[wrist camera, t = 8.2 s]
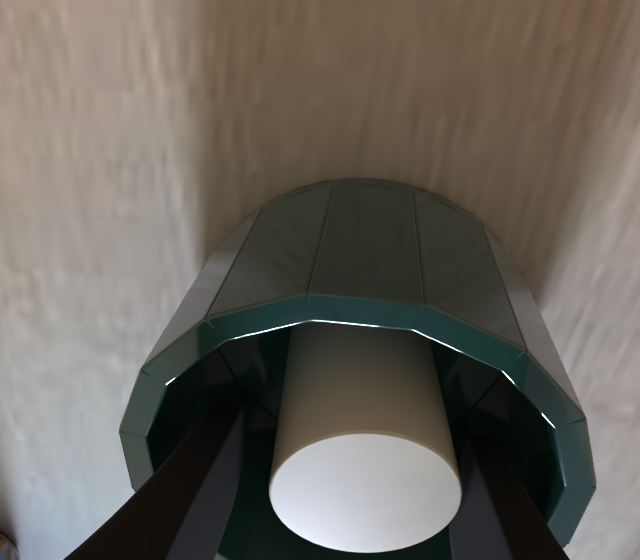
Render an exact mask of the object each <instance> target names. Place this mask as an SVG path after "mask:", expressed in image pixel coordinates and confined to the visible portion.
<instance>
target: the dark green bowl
mask: <svg viewBox="0 0 640 560" xmlns="http://www.w3.org/2000/svg"><path fill="white" fill-rule="evenodd" d="M309 321H320V322H330V323H340V324H350V325H360V326H370V327H380V328H390V329H400V330H410V331H414V332H417V333H419V334H421V335H423V336H425V337H428V338H429V340H430V344H431V349H432V353H433V358H434V362H435V366H436V371H437V375H438V380H439V384H440V389H441V393H442V397H443V402H444V406H445V411H446V415H447V420H448V424H449V428H450V433H451V437H452V442H453V446H454V451H455V455H456V459H457V463H458V460H459V457H460V454H461V451H462V448H463V445H464V442H465V440H466V437H467V434H468V433H469V434H476V435H483V436H490V437H496V438H497V440H498V441H499V443H500V444H501V446H502V448H503V450H504V452H505V454H506V455H507V457H508V459H509V461H510V463H511V465H512V466H513V468H514V470H515V472H516V473H517V475H518V477H519V479H520V481H521V482H522V484H523V486H524V487H525V489H526V491H527V493H528V494H529V496H530V498H531V499H532V501H533V503H534V504H535V506H536V508H537V509H538V511H539V513H540V514H541V516H542V517H543V519H544V521H545V522H546V524H547V525H548V527H549V529H550V530H551V532H552V533H553V535H554V536H555V538H556V540H557V541H558V543H559V544H560V546H561V547H562V549H563V548H564V547H565V546H566V545H567V544H569V542H570V540H571V538H572V536H573V534H574V532H575V530H576V528H577V526H578V524H579V522H580V520H581V518H582V516H583V514H584V512H585V510H586V508H587V506H588V504H589V502H590V500H591V498H592V496H593V494H594V492H595V490H596V476H595V470H594V463H593V457H592V451H591V444H590V438H589V432H588V425H587V419H586V416H585V414H584V412H583V409H582V407H581V405H580V402H579V400H578V398H577V396H576V393H575V391H574V389H573V387H572V384H571V382H570V380H569V377H568V375H567V373H566V371H565V368H564V366H563V364H562V361H561V359H560V357H559V355H558V352H557V350H556V348H555V346H554V343H553V341H552V339H551V336H550V334H549V332H548V330H547V327H546V325H545V323H544V320H543V318H542V316H541V314H540V311H539V309H538V307H537V305H536V302H535V300H534V298H533V295H532V293H531V291H530V289H529V286H528V284H527V282H526V279H525V278H524V275H523V273H522V272H521V271H520V270H519V269H518V267H517V266H516V265H515V264H514V262H513V260H512V258H511V256H510V255H509V254H508V252H507V251H506V249H505V248H504V246H503V245H502V244H501V242H500V241H499V240H498V239H497V238H496V237H495V236H494V234H493V233H492V232H491V231H490V230H489V229H488V228H487V227H486V226H485V225H484V224H483V223H481V222H480V221H479V220H477V219H476V218H475V217H474V216H472V215H471V214H470V213H469V212H467V211H466V210H464V209H462V208H461V207H459V206H457V205H456V204H454V203H452V202H450V201H449V200H447V199H445V198H443V197H440V196H438V195H435V194H433V193H431V192H428V191H426V190H423V189H420V188H416V187H412V186H409V185H405V184H401V183H397V182H390V181H383V180H375V179H344V180H335V181H326V182H321V183H317V184H313V185H309V186H304V187H301V188H298V189H295V190H293V191H290V192H288V193H285V194H283V195H280V196H278V197H276V198H274V199H273V200H271V201H269V202H267V203H265V204H264V205H262V206H260V207H259V208H257V209H256V210H255V211H253V212H252V213H251V214H249V215H248V216H247V217H245V218H244V219H243V220H242V221H241V222H240V223H239V224H238V225H237V226H236V227H235V228H234V229H233V230H232V231H231V232H230V233H229V234H228V236H227V237H226V238H225V239H224V240H223V241H222V242H221V243H220V244H219V245H218V246H216V248H215V249H214V251H213V252H212V254H211V256H210V257H209V259H208V260H207V262H206V264H205V265H204V267H203V269H202V270H201V272H200V273H199V275H198V277H197V278H196V280H195V281H194V283H193V285H192V286H191V288H190V290H189V291H188V293H187V294H186V296H185V298H184V299H183V301H182V302H181V304H180V306H179V307H178V309H177V311H176V312H175V314H174V315H173V317H172V319H171V320H170V322H169V323H168V325H167V327H166V328H165V330H164V332H163V333H162V335H161V336H160V338H159V340H158V341H157V343H156V344H155V346H154V348H153V349H152V351H151V353H150V354H149V356H148V357H147V359H146V361H145V362H144V364H143V365H142V367H141V369H140V371H139V374H138V377H137V379H136V382H135V385H134V388H133V390H132V393H131V396H130V399H129V402H128V404H127V407H126V410H125V413H124V416H123V418H122V421H121V424H120V428H119V429H120V430H119V434H120V438H121V443H122V447H123V451H124V455H125V460H126V464H127V468H128V472H129V477H130V481H131V485H132V488H133V489H134V491H135V493H136V492H137V491H138V490H139V489H140V488H141V486H142V485H143V484H144V483H145V482H146V481H147V480H148V479H149V478H150V477H151V476H152V475H153V474H154V473H155V472H156V471H157V469H158V468H159V467H160V466H161V465H162V464H163V463H164V461H165V460H166V459H167V458H168V457H169V456H170V455H171V453H172V452H173V451H174V450H175V449H176V448H177V447H178V445H179V444H180V443H181V442H182V441H183V439H184V438H185V437H186V436H187V434H188V433H189V432H190V431H191V429H192V428H193V427H194V426H195V424H196V423H197V422H198V420H199V419H200V418H201V416H202V415H203V414H204V412H205V411H206V410H207V408H208V407H209V406H210V404H211V403H212V401H213V400H214V399H216V398H218V397H220V398H227V399H234V400H241V401H244V463H243V467H242V472H241V476H240V480H239V484H238V489H237V493H236V497H235V501H234V505H233V508H232V511H231V514H230V516H229V519H228V522H227V525H226V528H225V531H224V534H223V536H222V539H221V542H220V545H219V548H218V550H217V553H216V556H215V559H214V560H452V553H451V546H450V537H449V523H448V525H447V526H445V527H444V528H443V529H442V530H441V531H439V532H438V533H436V534H435V535H433V536H432V537H430V538H428V539H426V540H424V541H422V542H419V543H417V544H414V545H412V546H408V547H405V548H401V549H396V550H392V551H384V552H370V553H366V552H349V551H342V550H336V549H332V548H328V547H324V546H322V545H319V544H316V543H313V542H311V541H309V540H307V539H305V538H303V537H301V536H299V535H298V534H296V533H295V532H293V531H292V530H291V529H289V528H288V527H287V526H286V525H285V524H284V523H283V522H282V521H281V520H280V518H279V517H278V516H277V514H276V512H275V511H274V509H273V506H272V503H271V500H270V496H269V482H270V475H271V468H272V461H273V454H274V447H275V440H276V433H277V426H278V418H279V411H280V404H281V397H282V390H283V383H284V376H285V369H286V362H287V355H288V348H289V341H290V335H291V331H292V328H293V326H294V325H297V324H301V323H305V322H309Z"/></svg>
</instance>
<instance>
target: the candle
mask: <svg viewBox="0 0 640 560" xmlns="http://www.w3.org/2000/svg"><path fill="white" fill-rule="evenodd" d="M462 494H463V490H462V482H461V477H460V473H459V468H458V464H457V459H456V455H455V451H454V446H453V442H452V437H451V433H450V428H449V424H448V420H447V415H446V411H445V406H444V402H443V397H442V393H441V389H440V384H439V380H438V375H437V371H436V366H435V362H434V358H433V353H432V349H431V344H430V340H429V338H428V337H425V336H423V335H421V334H419V333H417V332H414V331H410V330H400V329H390V328H380V327H370V326H360V325H350V324H340V323H330V322H320V321H309V322H305V323H301V324H297V325H294V326H293V328H292V331H291V335H290V341H289V348H288V355H287V362H286V369H285V376H284V383H283V390H282V397H281V404H280V411H279V418H278V426H277V433H276V440H275V447H274V454H273V461H272V468H271V475H270V482H269V496H270V500H271V503H272V506H273V509H274V511H275V512H276V514H277V516H278V517H279V518H280V520H281V521H282V522H283V523H284V524H285V525H286V526H287V527H288V528H289V529H291V530H292V531H293V532H295V533H296V534H298V535H299V536H301V537H303V538H305V539H307V540H309V541H311V542H313V543H316V544H319V545H322V546H324V547H328V548H332V549H336V550H342V551H349V552H366V553H370V552H384V551H392V550H396V549H401V548H405V547H408V546H412V545H414V544H417V543H419V542H422V541H424V540H426V539H428V538H430V537H432V536H433V535H435V534H436V533H438V532H439V531H441V530H442V529H443V528H444V527H445V526H447V525H448V523H449V522H450V521H451V520H452V519H453V518H454V516H455V514H456V513H457V511H458V509H459V506H460V504H461V499H462Z"/></svg>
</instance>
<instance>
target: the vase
mask: <svg viewBox="0 0 640 560" xmlns="http://www.w3.org/2000/svg"><path fill="white" fill-rule="evenodd" d="M0 560H20V557H19V554H18V551H17V549H16V548H15V546H14V545H13V544H12V542H11V541H10V540H9V539H7V538H6V537H5V536H4V535H2V534H1V533H0Z"/></svg>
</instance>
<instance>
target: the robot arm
mask: <svg viewBox="0 0 640 560" xmlns="http://www.w3.org/2000/svg"><path fill="white" fill-rule="evenodd" d="M243 463H244V401H241V400H234V399H227V398H220V397H218V398H216V399H214V400H213V401H212V403H211V404H210V406H209V407H208V408H207V410H206V411H205V412H204V414H203V415H202V416H201V418H200V419H199V420H198V422H197V423H196V424H195V426H194V427H193V428H192V429H191V431H190V432H189V433H188V434H187V436H186V437H185V438H184V439H183V441H182V442H181V443H180V444H179V445H178V447H177V448H176V449H175V450H174V451H173V452H172V453H171V455H170V456H169V457H168V458H167V459H166V460H165V461H164V463H163V464H162V465H161V466H160V467H159V468H158V469H157V471H156V472H155V473H154V474H153V475H152V476H151V477H150V478H149V479H148V480H147V481H146V482H145V483H144V484H143V485H142V486H141V488H140V489H139V490H138V491H137V492H136V493H135V494H134V495H133V496H132V497H131V498H130V499H129V500H128V501H127V502H126V503H125V504H124V505H123V506H122V507H121V508H120V509H119V510H118V511H117V512H116V513H115V514H114V515H113V516H112V517H111V518H110V519H109V520H108V521H107V522H105V523H104V524H103V525H102V526H101V527H100V528H99V529H98V530H97V531H96V532H95V533H93V534H92V535H91V536H90V537H89V538H88V539H87V540H86V541H85V542H83V543H82V544H81V545H80V546H79V547H78V548H77V549H75V550H74V551H73V552H72V553H71V554H69V555H68V556H67V557H66V558H65V559H63V560H214V559H215V556H216V553H217V550H218V548H219V545H220V542H221V539H222V536H223V534H224V531H225V528H226V525H227V522H228V519H229V516H230V514H231V511H232V508H233V505H234V501H235V497H236V493H237V489H238V484H239V480H240V476H241V472H242V467H243ZM457 464H458V468H459V473H460V477H461V482H462V490H463V494H462V499H461V504H460V506H459V509H458V511H457V513H456V514H455V516H454V518H453V519H452V520H451V521H450V522H449V537H450V546H451V553H452V560H570V559H569V558H568V556H567V555H566V553H565V552H564V550H563V549H562V547H561V546H560V544H559V543H558V541H557V540H556V538H555V536H554V535H553V533H552V532H551V530H550V529H549V527H548V525H547V524H546V522H545V521H544V519H543V517H542V516H541V514H540V513H539V511H538V509H537V508H536V506H535V504H534V503H533V501H532V499H531V498H530V496H529V494H528V493H527V491H526V489H525V487H524V486H523V484H522V482H521V481H520V479H519V477H518V475H517V473H516V472H515V470H514V468H513V466H512V465H511V463H510V461H509V459H508V457H507V455H506V454H505V452H504V450H503V448H502V446H501V444H500V443H499V441H498V440H497V438H496V437H490V436H483V435H476V434H469V433H468V434H467V437H466V440H465V442H464V445H463V448H462V451H461V454H460V457H459V460H458V463H457Z"/></svg>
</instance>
